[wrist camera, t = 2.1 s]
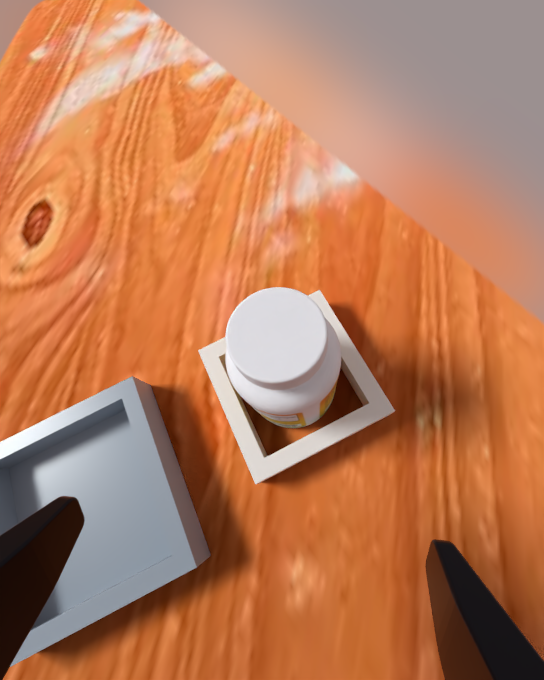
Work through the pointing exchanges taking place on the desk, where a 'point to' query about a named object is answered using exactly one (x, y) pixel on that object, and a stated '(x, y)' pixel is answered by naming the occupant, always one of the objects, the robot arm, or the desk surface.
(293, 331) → the supplement bottle
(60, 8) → the desk surface
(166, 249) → the desk surface
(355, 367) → the holder collar
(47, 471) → the tray
